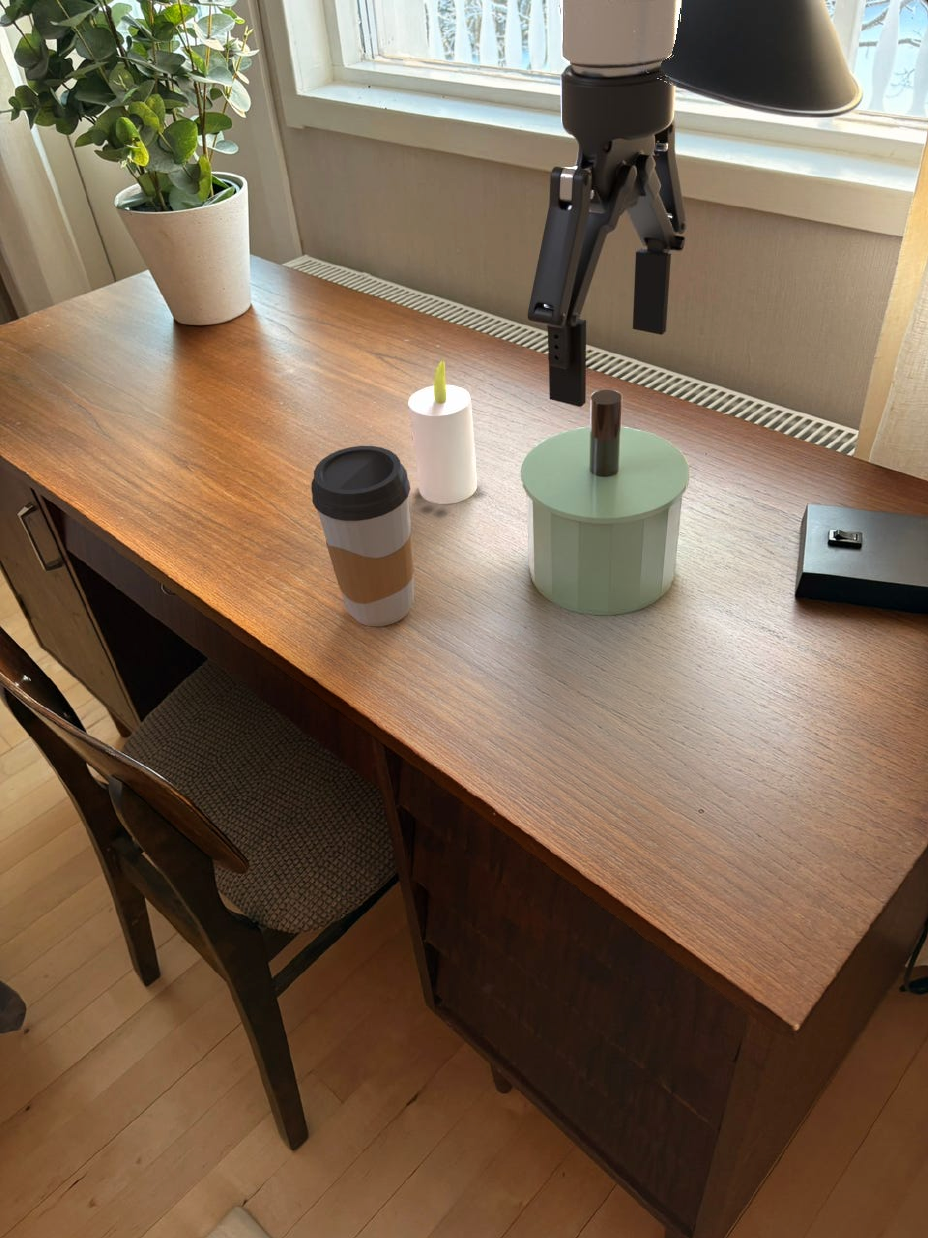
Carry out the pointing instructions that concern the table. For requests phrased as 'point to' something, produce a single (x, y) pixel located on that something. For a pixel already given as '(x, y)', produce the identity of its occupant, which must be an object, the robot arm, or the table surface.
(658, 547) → the pot
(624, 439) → the lid
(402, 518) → the coffee cup
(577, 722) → the table surface
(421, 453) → the candle
